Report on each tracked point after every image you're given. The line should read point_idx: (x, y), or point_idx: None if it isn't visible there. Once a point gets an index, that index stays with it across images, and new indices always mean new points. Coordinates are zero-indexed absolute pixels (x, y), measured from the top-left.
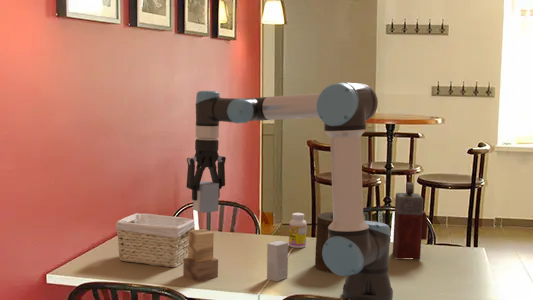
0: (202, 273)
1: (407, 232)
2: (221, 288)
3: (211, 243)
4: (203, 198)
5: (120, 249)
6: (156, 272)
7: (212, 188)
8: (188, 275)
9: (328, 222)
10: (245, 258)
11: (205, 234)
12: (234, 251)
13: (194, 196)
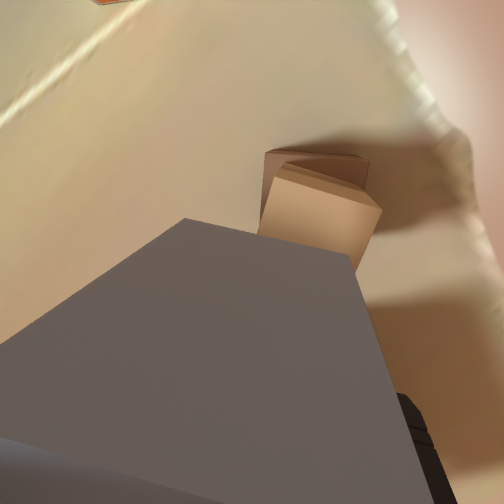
0: (343, 156)
1: None
2: (362, 31)
3: (289, 173)
4: (359, 325)
5: None
6: (375, 317)
7: (161, 379)
8: None
9: None
10: (74, 233)
11: (325, 192)
12: None
13: (426, 439)
